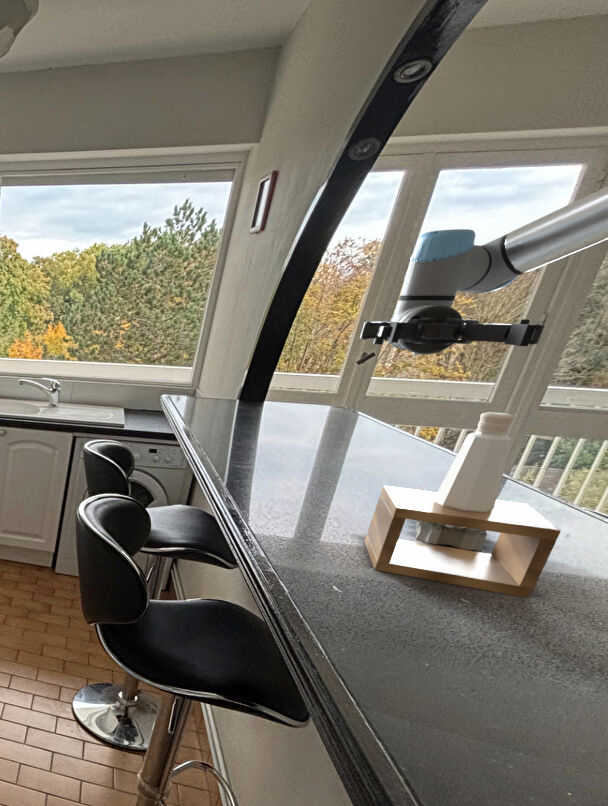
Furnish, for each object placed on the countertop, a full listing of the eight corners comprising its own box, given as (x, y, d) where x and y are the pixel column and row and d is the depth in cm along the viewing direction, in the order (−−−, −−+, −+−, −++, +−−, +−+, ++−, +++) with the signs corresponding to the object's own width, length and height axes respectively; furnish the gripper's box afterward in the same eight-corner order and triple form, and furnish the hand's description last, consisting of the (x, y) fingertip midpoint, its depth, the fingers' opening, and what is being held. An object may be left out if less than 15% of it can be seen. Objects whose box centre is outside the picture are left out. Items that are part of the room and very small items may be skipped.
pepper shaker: (421, 499, 73) (453, 410, 69) (459, 498, 74) (494, 409, 70) (465, 513, 68) (503, 418, 64) (506, 512, 69) (546, 417, 65)
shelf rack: (500, 564, 75) (527, 503, 72) (529, 598, 66) (561, 530, 63) (364, 542, 82) (383, 485, 79) (374, 570, 73) (396, 507, 70)
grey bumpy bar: (415, 522, 90) (424, 496, 88) (482, 535, 85) (493, 508, 83) (409, 540, 83) (419, 512, 81) (482, 555, 78) (494, 526, 76)
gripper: (521, 356, 93) (576, 367, 76) (330, 350, 105) (341, 357, 88) (541, 306, 91) (602, 305, 74) (342, 305, 103) (356, 304, 86)
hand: (460, 334), depth 81 cm, fingers open, 13 cm apart
